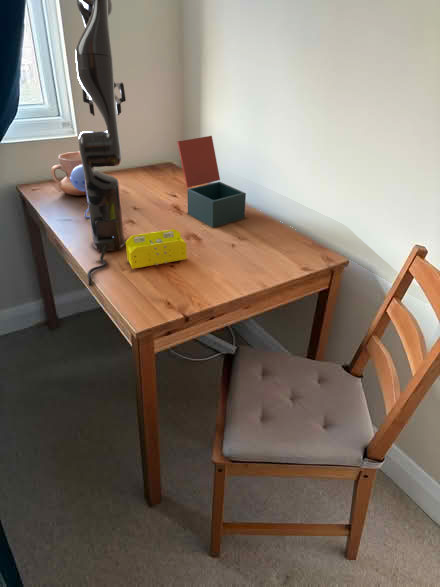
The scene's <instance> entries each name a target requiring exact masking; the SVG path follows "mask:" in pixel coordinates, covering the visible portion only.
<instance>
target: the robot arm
mask: <svg viewBox="0 0 440 587" xmlns="http://www.w3.org/2000/svg"><path fill="white" fill-rule="evenodd" d="M76 7H77V10H78V13H79V15H80V17H81V20H82V23H83V26H84V30H83V31H82V33H81V35H80V37H79V39H78V41H77V43H76V47H75V51H74V52H75V63H76V72H77V79H78V81H79V84H80V85H81V88H82V89H81V90H82V102H83V103H86V104H87V105H88V106H89V113H90V115H92V116H93V117H94V116H95V115H96V114H95V108H94V106H95V107H96V108H97V110H98V111H99V114H100V115H101V117H102V119H103V121H104V123H105V126H106V130H105V131H104V130H103V131H82V132H80V134H79V136H78V151H80V156H81V161H82V166H83V171H84V178H85V185H86V192H87V197H86V201H87V200H88V202H87V206H88V207H89V211H88V213H89V216H90V218H89V221H90V227H91V228H90V229H91V235H92V243H93V248H94V249H95V250H96V251H98V252H101V254H100V258H99V261H100V262H101V263H102V264H100V265H98V266H94V267H92V268H90V270H88V271H87V277H88V286H89V287H91V286H92V282H93V280H92V273H94V271H96V270H100V269H104V268H105V267H106V266H107V261H105V260H104V257H105V254H106V252H111V251H112V252H113V251H120V250H121V249H122V248H123V247H124V246H126V239H125V232H124V231H125V230H124V224H123V223H124V222H123V212H122V201H121V192H120V182H119V179H118V178H116V177H115V176H113V175H109V174H107V173H104V172H101V171H100V170H99V169H98V168H113V167H119V166H120V165H121V162H122V146H121V138H120V130H119V124H118V116H120V114H121V113H122V105H121V104H122V103H124V102H127V100H126V99H127V98H126V92H125V85H124V82H122V81H120V82H115V74H114V62H113V53H112V52H113V51H112V42H111V35H110V22H109V18H110V16H111V15H112V14H113V2H112V0H76ZM116 87H117V89H118V90H119V91H120V98H119V96H117V94H116V92H115V89H116ZM88 97H89V98H88ZM88 207H87V208H88Z"/></svg>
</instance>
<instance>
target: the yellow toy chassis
mask: <svg viewBox="0 0 440 587" xmlns="http://www.w3.org/2000/svg"><path fill="white" fill-rule="evenodd" d="M187 248H188V247H187V242H185V241H184V239H183V238H182V233H181V232H180V231H178V230H177V229H175V228H171V229H165V230H159V231H152V232H146V233H140V234H134V235H131V236H130V237H128V239H127V240H125V249H126V260H127V262H128V263H129V265H130V266H131V269H132V270H133V269H134V270H135V269H140V268H144V267H149V266H158V265H161V264H166V265H167V264H168V263H171V262H178V261H182V260H183V261H184V260H187V258H188V257H187V255H188V254H187V253H188V252H187V251H188V249H187Z"/></svg>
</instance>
